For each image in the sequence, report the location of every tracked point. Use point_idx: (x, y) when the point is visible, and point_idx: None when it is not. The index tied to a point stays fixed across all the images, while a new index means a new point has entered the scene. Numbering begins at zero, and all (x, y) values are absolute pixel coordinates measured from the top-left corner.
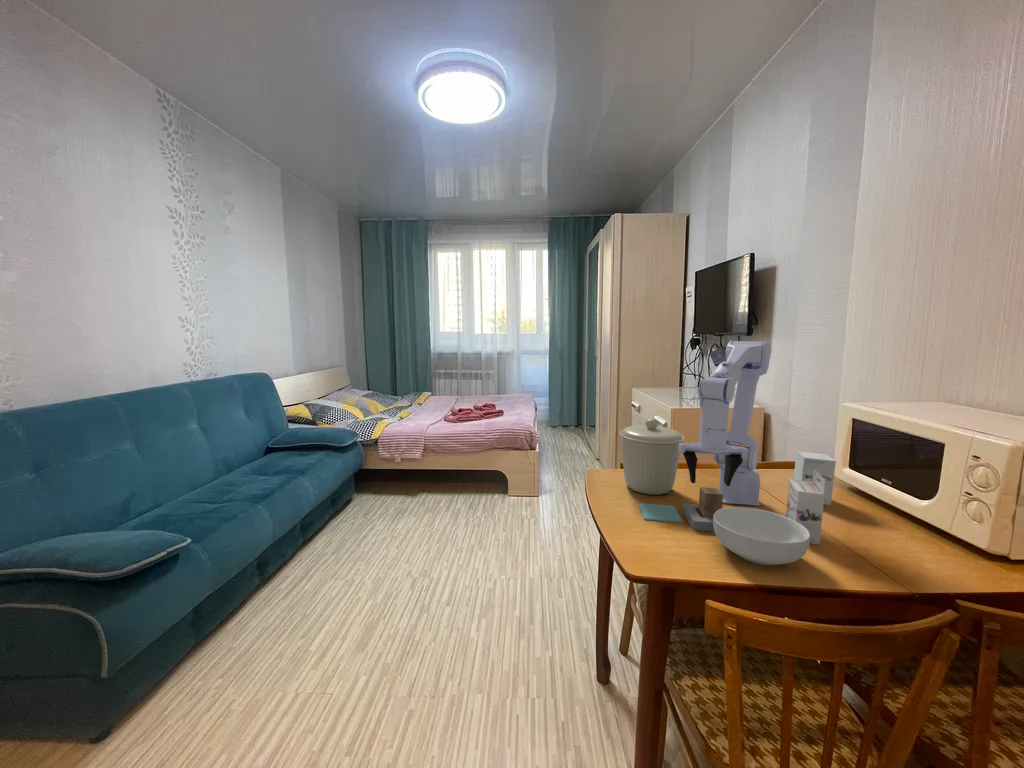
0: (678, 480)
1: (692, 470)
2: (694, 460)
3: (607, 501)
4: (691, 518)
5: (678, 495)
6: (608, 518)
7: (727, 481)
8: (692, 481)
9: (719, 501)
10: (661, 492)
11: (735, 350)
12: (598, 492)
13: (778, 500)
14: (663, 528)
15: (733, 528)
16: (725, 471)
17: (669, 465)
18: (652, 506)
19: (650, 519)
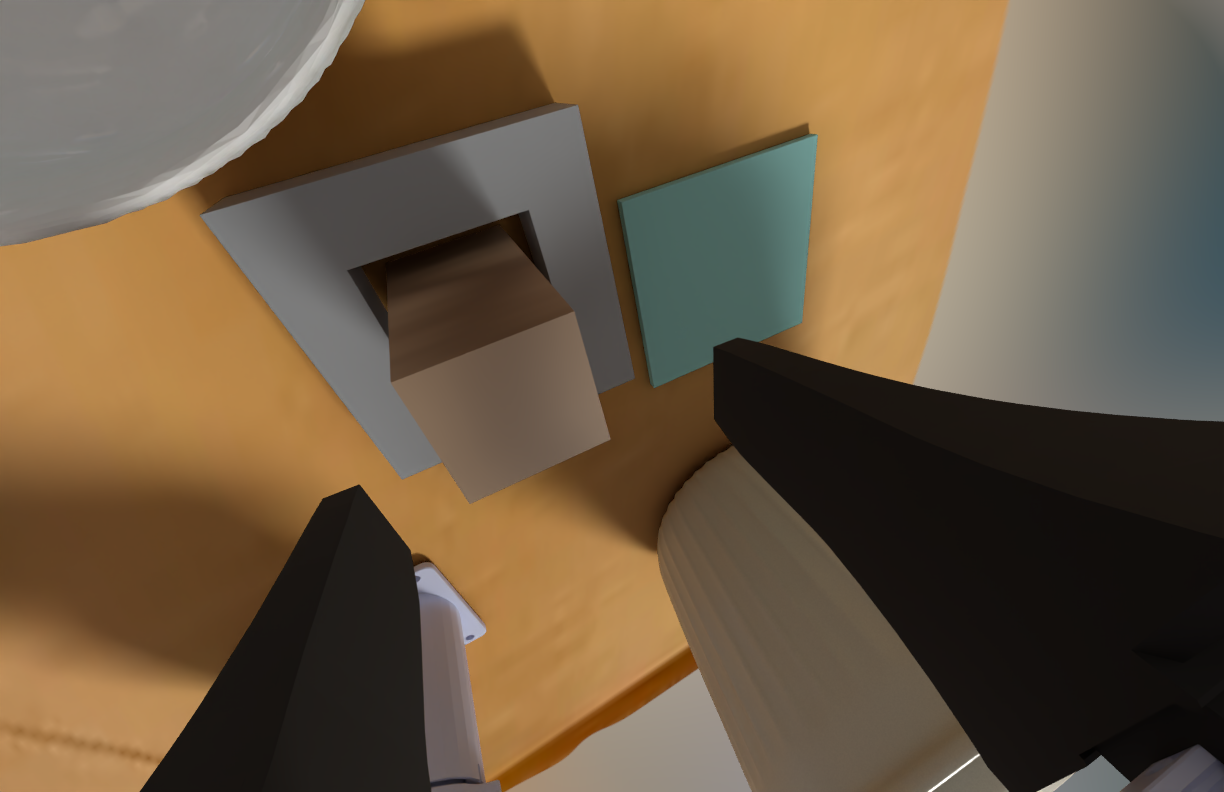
0: (617, 626)
1: (897, 391)
2: (1183, 487)
3: (907, 280)
4: (589, 177)
5: (623, 512)
6: (969, 59)
7: (347, 528)
8: (752, 341)
9: (418, 332)
10: (704, 470)
11: None
12: (911, 351)
13: (161, 758)
14: (731, 38)
15: (218, 47)
16: (411, 705)
17: (776, 599)
18: (750, 320)
19: (784, 144)
